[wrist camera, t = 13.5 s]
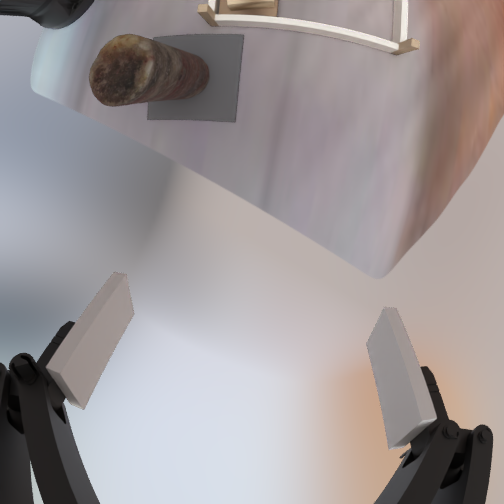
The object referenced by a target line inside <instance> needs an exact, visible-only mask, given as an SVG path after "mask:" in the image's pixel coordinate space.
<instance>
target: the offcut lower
mask: <svg viewBox="0 0 504 504" xmlns="http://www.w3.org/2000/svg"><path fill="white" fill-rule="evenodd" d="M277 10H278V0H274V8H257V9H245V10H236V11H231V10H230V9H229V7H228V5H227V0H220V6H219V14H234V15H258V16H271V17H277Z"/></svg>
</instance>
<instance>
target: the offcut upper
mask: <svg viewBox="0 0 504 504" xmlns="http://www.w3.org/2000/svg"><path fill="white" fill-rule="evenodd" d="M227 5H228V7H229V9H230V10H231V11H236V10H245V9H257V8H274V0H227Z"/></svg>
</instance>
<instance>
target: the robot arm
mask: <svg viewBox="0 0 504 504" xmlns="http://www.w3.org/2000/svg"><path fill="white" fill-rule="evenodd" d="M93 1H94V0H0V15H10V16H25V17H30V18H31V19H32V20H34V21H36V22H37V23H39V24H40V25H41V26H43V27H45V28H52V29H59V28H63V27H65V26H67V25H69V24H71V23H73V22H74V21H75V20H77V19H78V18H79V17H80V16H81V15H82V14H83V13H84V12H85V11H86V10H87V9H88V8H89V6H90V5H91V4H92V2H93ZM133 316H134V310H133V305H132V300H131V295H130V290H129V284H128V279H127V274H124V273H118V272H114V273H113V274H112V275H111V276H110V278H109V279H108V280H107V282H106V283H105V284H104V285H103V287H102V288H101V289H100V291H99V292H98V293H97V294H96V296H95V297H94V298H93V300H92V301H91V302H90V304H89V305H88V306H87V308H86V309H85V310H84V312H83V313H82V315H81V316H80V317H79V319H78V320H77V322H76V323H75V322H71V321H69V322H67V323H66V324H65V325H63V326H62V327H61V328H60V329H59V331H58V332H57V334H56V336H55V337H54V338H53V339H52V341H51V343H49V345H48V346H47V348H46V349H45V351H44V352H43V354H42V355H41V357H40V358H39V360H38V361H37V363H36V362H35V360H34V359H33V357H32V356H31V355H30V354H27V353H20V354H18V355H16V356H15V357H13V359H12V360H11V362H10V363H9V369H10V370H7V369H6V367H5V366H4V365H3V364H2V363H0V504H34V501H33V493H32V483H31V470H30V461H31V464H32V468H33V472H34V475H35V479H36V482H37V485H38V488H39V491H40V494H41V497H42V500H43V503H44V504H100V502H99V500H98V498H97V496H96V494H95V492H94V490H93V487H92V485H91V483H90V480H89V478H88V475H87V473H86V470H85V468H84V465H83V463H82V460H81V457H80V455H79V451H78V449H77V446H76V443H75V440H74V437H73V433H72V430H71V426H70V423H69V419H68V416H67V412H66V408H65V405H64V403H63V402H64V400H65V398H67V400H68V401H69V403H70V404H71V405H74V406H76V407H78V408H81V409H83V410H84V409H85V407H86V405H87V403H88V401H89V398H90V396H91V395H92V393H93V391H94V388H95V386H96V384H97V383H98V381H99V379H100V376H101V375H102V372H103V371H104V369H105V367H106V365H107V363H108V361H109V359H110V357H111V355H112V353H113V352H114V350H115V348H116V346H117V344H118V342H119V340H120V339H121V337H122V335H123V333H124V332H125V330H126V328H127V326H128V324H129V323H130V321H131V319H132V317H133ZM366 345H367V349H368V353H369V357H370V361H371V365H372V369H373V373H374V378H375V382H376V386H377V391H378V395H379V400H380V405H381V410H382V414H383V420H384V425H385V431H386V436H387V442H388V448H389V450H391V449H398V448H403V447H405V446H406V445H407V444H408V443H410V444H411V448H410V449H409V450H407V451H406V452H405V453H404V454H402V456H400V458H403V457H404V456H405V457H404V459H403V461H402V462H401V464H400V466H399V467H398V469H397V470H396V472H395V474H394V475H393V477H392V478H391V480H390V481H389V483H388V485H387V486H386V487H385V489H384V490H383V492H382V493H381V495H380V496H379V497H378V499H377V500H376V502H375V503H374V504H485V501H486V495H487V490H488V484H489V477H490V470H491V460H492V448H493V434H492V431H491V429H490V428H488V426H485V425H479V426H477V427H476V428H475V429H474V430H468V429H461V428H459V426H458V424H457V423H456V422H454V421H452V420H449V418H448V416H447V412H446V409H445V406H444V403H443V400H442V397H441V394H440V393H439V389H438V386H437V385H436V380H435V378H434V375H433V373H432V372H431V371H430V370H429V368H428V367H427V366H424V367H420V365H419V362H418V359H417V357H416V354H415V351H414V349H413V346H412V344H411V341H410V339H409V336H408V334H407V331H406V329H405V327H404V324H403V322H402V320H401V317H400V315H399V313H398V310H397V308H390V307H384V308H383V310H382V312H381V315H380V317H379V319H378V321H377V323H376V325H375V327H374V329H373V331H372V333H371V335H370V337H369V339H368V342H367V343H366Z"/></svg>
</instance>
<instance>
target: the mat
mask: <svg viewBox="0 0 504 504" xmlns="http://www.w3.org/2000/svg"><path fill="white" fill-rule="evenodd" d="M153 40H154V41H157V42H160V43H163V44H166V45H169V46H172V47H175V48H177V49H180V50H183V51H186V52H189V53H192V54H194V55H197V56H198V57H200V58H201V59H203V61H204V62H205V63H206V64H207V66H208V68H209V81H208V84H207V86H206V87H205V89H204V90H202V91H201V92H200V93H199V94H197V95H196V96H194V97H191V98H187V99H180V100H164V101H152V102H148V119H147V120H205V121H224V122H235V120H236V109H237V98H238V88H239V78H240V68H241V58H242V49H243V40H244V35H239V34H194V35H176V36H164V37H155V38H153Z"/></svg>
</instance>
